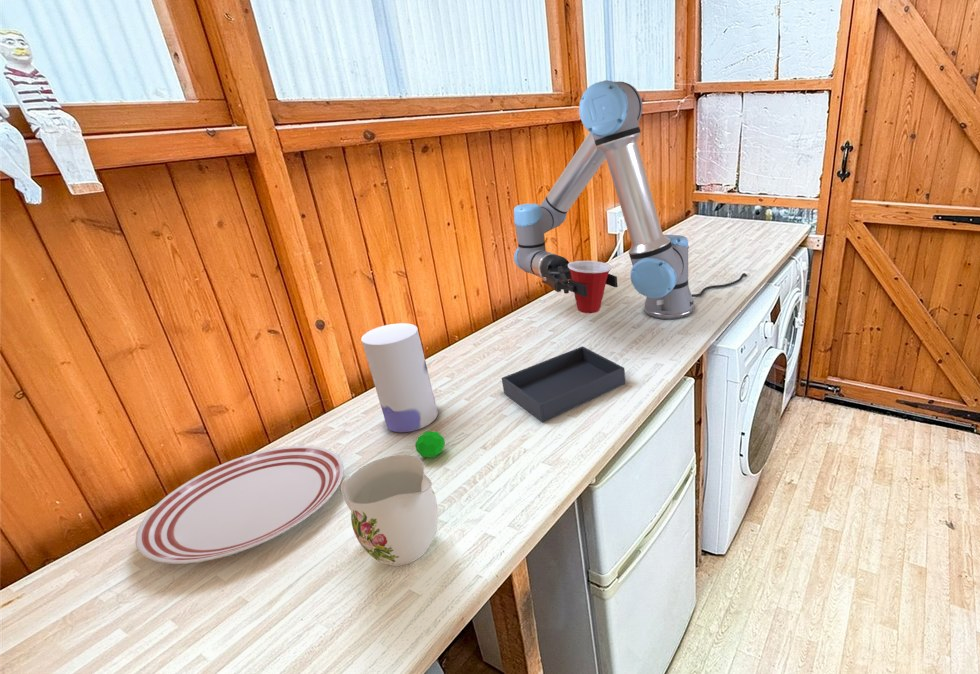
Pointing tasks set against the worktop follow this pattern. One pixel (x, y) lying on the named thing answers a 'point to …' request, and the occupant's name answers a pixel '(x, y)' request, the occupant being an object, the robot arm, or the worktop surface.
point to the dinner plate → (239, 504)
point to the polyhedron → (429, 444)
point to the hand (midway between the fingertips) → (601, 286)
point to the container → (400, 376)
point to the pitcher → (392, 508)
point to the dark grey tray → (563, 382)
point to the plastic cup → (590, 283)
